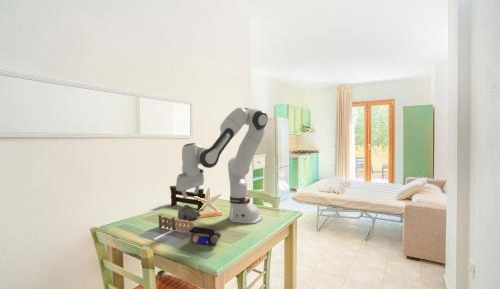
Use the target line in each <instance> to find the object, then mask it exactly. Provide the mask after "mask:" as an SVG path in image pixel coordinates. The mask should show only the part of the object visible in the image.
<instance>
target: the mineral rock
mask: <svg viewBox="0 0 500 289" xmlns="http://www.w3.org/2000/svg"><path fill="white" fill-rule="evenodd" d="M201 216H202V215H201V214H200V212H199V211H198V210H196V209H195V208H194V207H193V206H190V205H189V204H185V205H182V206H179V207H178V211H177V219H179V220H184V221H185V220H187V221H190V220H194V219H196V218H200V217H201Z"/></svg>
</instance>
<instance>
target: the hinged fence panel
mask: <svg viewBox="0 0 500 289" xmlns="http://www.w3.org/2000/svg"><path fill="white" fill-rule="evenodd" d="M175 222H176V225H175V228H177V230H180V229H181V231H184V230H185V232H188V231H190V230H191V229H192V228H194V227H195V221H193V220H191V221H190V220H185V221H184V220H179V219H178V218H175ZM189 233H193V232H189Z"/></svg>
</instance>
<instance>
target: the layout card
mask: <svg viewBox="0 0 500 289" xmlns="http://www.w3.org/2000/svg"><path fill="white" fill-rule="evenodd" d="M192 234H193V233H189V231H188V232H185V230H184V231H181V229H180V230H177V228H176V230H172V227H171V229H168V226H167V228H164V225H163V227H159V226H157V227H154V228H153V229H151V230H148V231H145V232H144V233H141V234H139V235H138V237H139V238H143V239H147V240H151V241H154V242H155V241H156V242H159V243H163V244H167V245H169V246H170V245H171V246H174V247H177V246H178V245H180V244H182V243H183V242H186V241H187V240H189V239H190V238H191V235H192Z"/></svg>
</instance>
